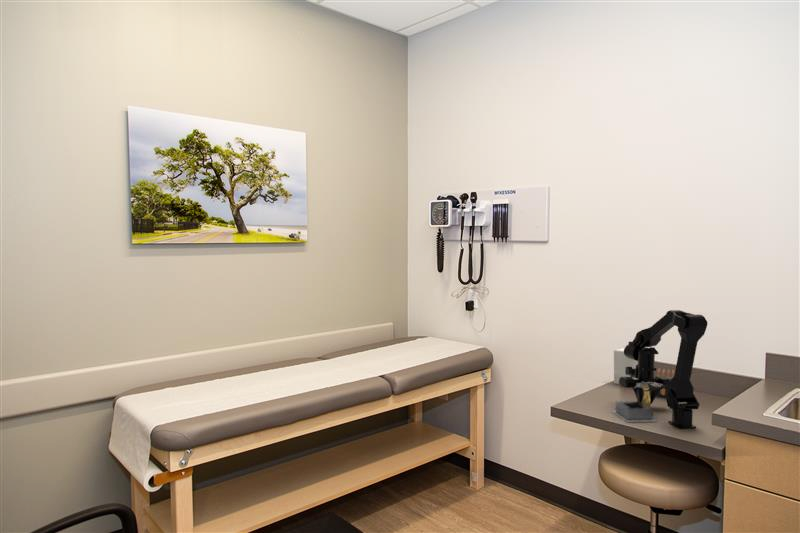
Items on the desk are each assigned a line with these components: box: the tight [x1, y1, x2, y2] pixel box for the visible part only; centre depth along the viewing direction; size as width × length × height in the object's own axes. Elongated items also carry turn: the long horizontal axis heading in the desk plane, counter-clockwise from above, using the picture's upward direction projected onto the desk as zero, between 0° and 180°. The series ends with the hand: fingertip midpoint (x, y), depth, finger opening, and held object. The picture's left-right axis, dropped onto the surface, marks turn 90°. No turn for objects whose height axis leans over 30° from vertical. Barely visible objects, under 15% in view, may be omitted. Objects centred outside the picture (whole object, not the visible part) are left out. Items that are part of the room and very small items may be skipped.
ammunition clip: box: [655, 367, 675, 399], centre depth 217 cm, size 11×2×12 cm, turn 62°
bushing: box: [641, 387, 652, 408], centre depth 203 cm, size 4×4×7 cm
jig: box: [611, 401, 658, 423], centre depth 193 cm, size 11×11×4 cm
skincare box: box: [613, 347, 638, 386], centre depth 237 cm, size 8×7×16 cm
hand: (644, 403), depth 203 cm, fingers closed on bushing, 4 cm apart
